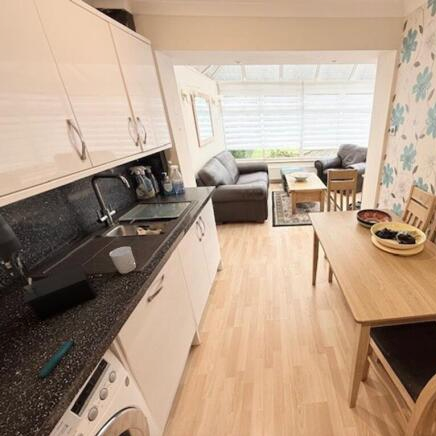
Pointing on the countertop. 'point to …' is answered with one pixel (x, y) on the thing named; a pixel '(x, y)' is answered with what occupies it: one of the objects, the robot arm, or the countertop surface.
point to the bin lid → (53, 284)
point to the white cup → (123, 259)
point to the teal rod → (55, 359)
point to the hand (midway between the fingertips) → (26, 279)
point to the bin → (63, 299)
